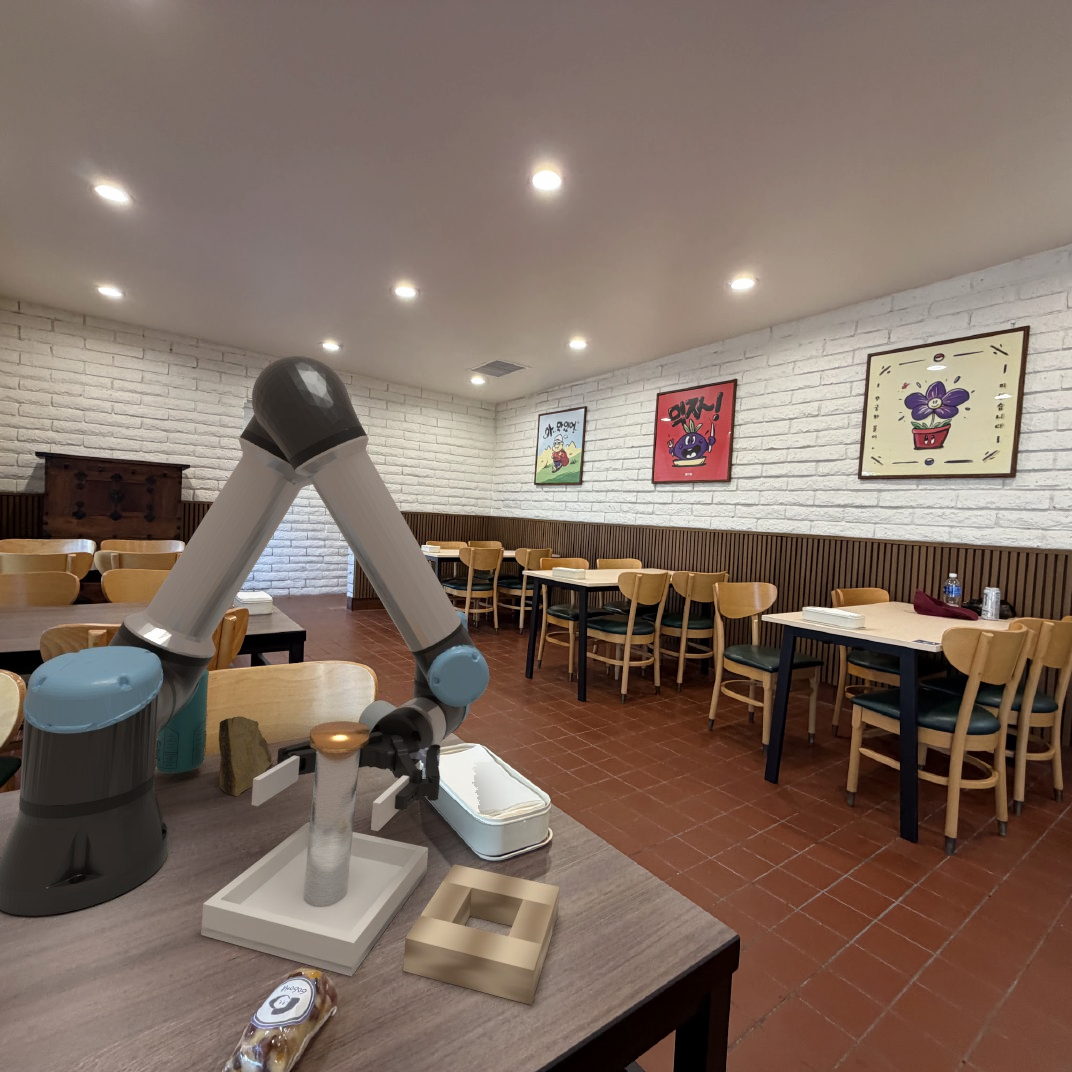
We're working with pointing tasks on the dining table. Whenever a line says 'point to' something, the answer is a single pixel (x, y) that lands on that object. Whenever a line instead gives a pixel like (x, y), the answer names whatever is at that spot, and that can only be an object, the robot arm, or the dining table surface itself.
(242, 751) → the rock
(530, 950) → the block
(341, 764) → the steel pin
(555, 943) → the dining table surface
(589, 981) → the dining table surface
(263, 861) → the tray
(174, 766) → the beverage bottle
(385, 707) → the ceramic mug
